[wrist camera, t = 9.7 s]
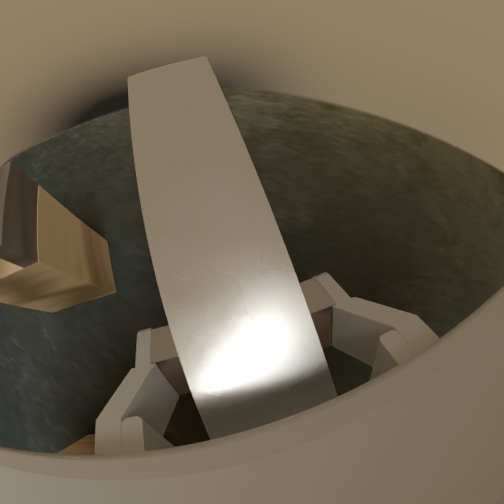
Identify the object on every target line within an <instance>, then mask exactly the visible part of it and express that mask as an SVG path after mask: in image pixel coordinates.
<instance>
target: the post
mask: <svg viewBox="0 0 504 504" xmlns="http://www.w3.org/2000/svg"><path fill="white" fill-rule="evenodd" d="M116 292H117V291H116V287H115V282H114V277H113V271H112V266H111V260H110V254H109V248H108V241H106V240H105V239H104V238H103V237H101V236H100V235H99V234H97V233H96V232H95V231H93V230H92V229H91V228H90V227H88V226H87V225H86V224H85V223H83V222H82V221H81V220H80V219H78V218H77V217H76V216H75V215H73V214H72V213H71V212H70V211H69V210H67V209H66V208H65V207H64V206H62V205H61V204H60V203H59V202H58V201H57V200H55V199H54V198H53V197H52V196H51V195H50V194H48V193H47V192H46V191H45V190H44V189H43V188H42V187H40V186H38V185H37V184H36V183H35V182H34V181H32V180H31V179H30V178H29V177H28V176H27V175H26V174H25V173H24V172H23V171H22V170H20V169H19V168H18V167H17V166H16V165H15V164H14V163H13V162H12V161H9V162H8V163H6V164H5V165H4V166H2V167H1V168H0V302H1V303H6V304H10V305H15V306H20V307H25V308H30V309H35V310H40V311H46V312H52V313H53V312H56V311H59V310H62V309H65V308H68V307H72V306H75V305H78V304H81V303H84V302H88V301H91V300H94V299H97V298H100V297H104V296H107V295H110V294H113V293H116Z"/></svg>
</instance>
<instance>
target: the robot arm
mask: <svg viewBox="0 0 504 504" xmlns="http://www.w3.org/2000/svg"><path fill="white" fill-rule="evenodd" d="M299 284H300V287H301V290H302V292H303V295H304V298H305V301H306V304H307V306H308V309H309V312H310V315H311V318H312V321H313V323H314V326H315V329H316V332H317V335H318V338H319V341H320V344H321V347H322V349H323V348H325V347H328V346H330V345H332V346H333V347H335V348H337V349H339V350H341V351H342V352H344V353H346V354H348V355H350V356H352V357H354V358H356V359H358V360H360V361H362V362H364V363H366V364H368V365H370V366H372V367H373V369H372V373H371V376H370V380H369V381H368V382H366V383H365V384H363V385H361V386H359V387H357V388H355V389H353V390H351V391H348V392H346V393H344V394H342V395H340V396H338V397H336V398H333V399H331V400H329V401H327V402H324V403H322V404H320V405H317V406H315V407H313V408H310V409H308V410H305V411H303V412H300V413H297V414H295V415H292V416H289V417H287V418H284V419H281V420H278V421H275V422H272V423H269V424H266V425H263V426H260V427H257V428H254V429H250V430H247V431H243V432H240V433H236V434H232V435H229V436H225V437H221V438H217V439H212V440H208V441H203V442H199V443H194V444H189V445H183V446H177V447H174V446H173V445H172V444H171V443H169V442H168V441H167V440H166V439H165V438H163V435H164V432H165V430H166V428H167V425H168V423H169V420H170V418H171V416H172V413H173V411H174V408H175V406H176V404H177V401H178V399H179V395H181V394H185V393H188V392H191V390H190V388H189V385H188V382H187V379H186V377H185V374H184V371H183V368H182V365H181V362H180V359H179V356H178V353H177V350H176V347H175V344H174V340H173V337H172V334H171V331H170V327H169V324H168V323H167V324H163V325H159V326H155V327H152V328H148V329H144V330H140V331H139V332H138V333H137V343H136V361H135V368H132V369H131V370H130V371H129V373H128V374H127V376H126V377H125V378H124V380H123V381H122V383H121V384H120V386H119V387H118V388H117V390H116V391H115V393H114V394H113V396H112V397H111V399H110V400H109V402H108V403H107V405H106V406H105V407H104V409H103V410H102V412H101V413H100V415H99V416H98V418H97V419H96V428H95V454H55V453H43V452H33V451H25V450H18V449H11V448H6V447H0V504H504V285H503V286H502V287H501V288H500V289H499V290H498V291H497V292H496V293H495V294H494V295H493V296H492V297H490V298H489V299H488V300H487V301H486V302H485V303H484V304H483V305H481V306H480V307H479V308H478V309H477V310H475V311H474V312H473V313H472V314H471V315H469V316H468V317H467V318H466V319H464V320H463V321H462V322H461V323H459V324H458V325H457V326H455V327H454V328H453V329H451V330H450V331H449V332H447V333H446V334H444V335H443V336H442V337H440V338H439V337H438V336H437V335H436V334H435V333H434V332H433V331H432V330H431V329H430V328H429V327H428V326H427V325H426V324H425V323H424V322H423V321H422V320H421V319H420V318H419V317H418V316H417V315H415V314H412V313H408V312H405V311H401V310H398V309H394V308H391V307H388V306H384V305H381V304H377V303H374V302H371V301H367V300H364V299H361V298H357V297H353V298H350V296H349V295H348V294H347V293H346V292H345V291H344V290H343V289H342V288H341V287H340V286H339V285H338V283H337V282H336V281H335V280H334V279H333V278H332V277H331V276H330V275H329V274H328V273H326V272H325V273H322V274H319V275H317V276H314V277H312V278H310V279H307V280H304V281H301V282H299Z"/></svg>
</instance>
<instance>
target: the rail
mask: <svg viewBox="0 0 504 504" xmlns="http://www.w3.org/2000/svg"><path fill="white" fill-rule="evenodd" d="M128 95H129V112H130V125H131V135H132V145H133V154H134V162H135V169H136V177H137V184H138V190H139V196H140V202H141V208H142V214H143V219H144V225H145V230H146V235H147V240H148V244H149V249H150V254H151V258H152V263H153V267H154V271H155V275H156V279H157V283H158V287H159V291H160V295H161V299H162V303H163V306H164V310H165V313H166V317H167V320H168V324H169V327H170V331H171V334H172V337H173V340H174V344H175V347H176V350H177V353H178V356H179V359H180V362H181V365H182V368H183V371H184V374H185V377H186V379H187V382H188V385H189V388H190V390H191V393H192V396H193V398H194V401H195V404H196V406H197V409H198V411H199V414H200V416H201V419H202V421H203V424H204V426H205V428H206V431H207V433H208V435H209V438H210V440H212V439H217V438H221V437H225V436H229V435H232V434H236V433H240V432H243V431H247V430H250V429H254V428H257V427H260V426H263V425H266V424H269V423H272V422H275V421H278V420H281V419H284V418H287V417H289V416H292V415H295V414H297V413H300V412H303V411H305V410H308V409H310V408H313V407H315V406H317V405H320V404H322V403H324V402H327V401H329V400H331V399H333V398H336V397H338V396H337V393H336V389H335V386H334V383H333V380H332V377H331V374H330V371H329V368H328V365H327V362H326V359H325V356H324V353H323V350H322V347H321V344H320V341H319V338H318V335H317V332H316V329H315V326H314V323H313V321H312V318H311V315H310V312H309V309H308V306H307V304H306V301H305V298H304V295H303V292H302V290H301V287H300V284H299V281H298V279H297V276H296V273H295V270H294V268H293V265H292V262H291V260H290V257H289V254H288V252H287V249H286V246H285V244H284V241H283V238H282V236H281V233H280V231H279V228H278V225H277V223H276V220H275V218H274V215H273V212H272V210H271V207H270V205H269V202H268V200H267V197H266V195H265V192H264V190H263V187H262V185H261V182H260V180H259V177H258V175H257V172H256V170H255V167H254V165H253V163H252V160H251V158H250V155H249V153H248V151H247V148H246V146H245V143H244V141H243V139H242V136H241V134H240V132H239V129H238V127H237V125H236V122H235V120H234V118H233V115H232V113H231V111H230V108H229V106H228V104H227V101H226V99H225V97H224V95H223V92H222V90H221V88H220V86H219V83H218V81H217V79H216V77H215V75H214V72H213V70H212V68H211V66H210V64H209V62H208V59H207V57H206V56H203V57H199V58H194V59H189V60H185V61H181V62H177V63H173V64H169V65H165V66H162V67H158V68H155V69H151V70H148V71H145V72H142V73H138V74H135V75H132V76H130V77H128Z"/></svg>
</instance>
